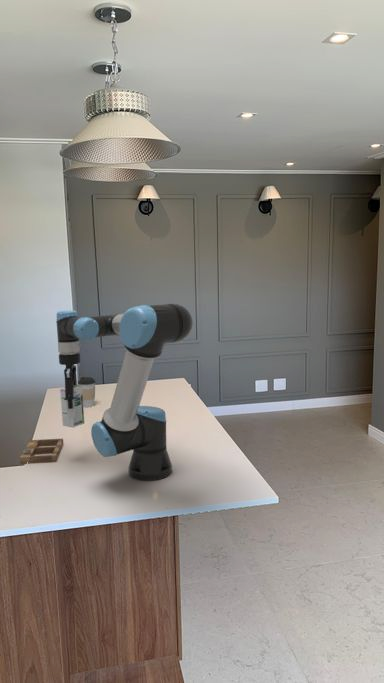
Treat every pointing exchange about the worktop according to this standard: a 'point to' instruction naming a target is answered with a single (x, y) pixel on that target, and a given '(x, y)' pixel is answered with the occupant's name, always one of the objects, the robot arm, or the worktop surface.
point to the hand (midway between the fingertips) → (72, 413)
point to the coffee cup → (87, 391)
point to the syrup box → (78, 408)
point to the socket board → (41, 451)
